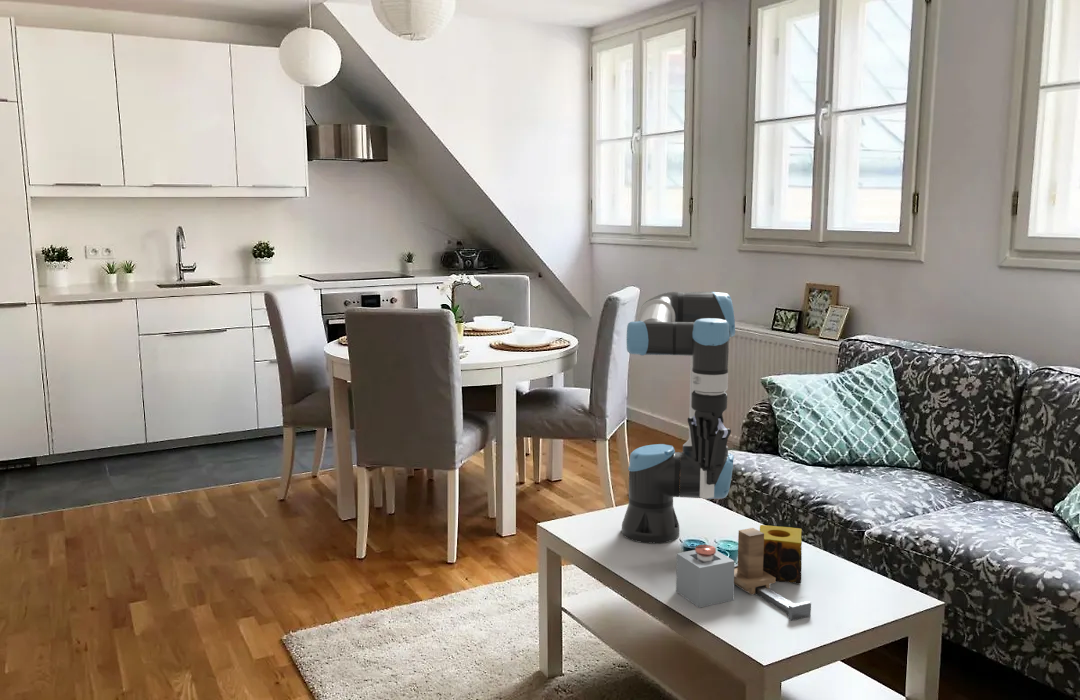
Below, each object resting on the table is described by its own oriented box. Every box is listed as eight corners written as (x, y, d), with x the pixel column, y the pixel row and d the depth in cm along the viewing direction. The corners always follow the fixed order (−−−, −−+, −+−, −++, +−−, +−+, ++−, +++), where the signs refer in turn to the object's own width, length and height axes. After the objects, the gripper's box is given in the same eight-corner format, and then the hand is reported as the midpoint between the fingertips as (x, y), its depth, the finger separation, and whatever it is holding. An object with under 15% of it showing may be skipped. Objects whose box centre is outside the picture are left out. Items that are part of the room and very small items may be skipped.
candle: (801, 585, 203) (802, 543, 201) (755, 580, 206) (757, 538, 204) (801, 568, 212) (803, 528, 211) (758, 563, 215) (759, 523, 214)
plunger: (691, 567, 197) (691, 546, 197) (707, 563, 199) (708, 543, 198) (702, 574, 193) (702, 553, 193) (719, 571, 195) (719, 550, 194)
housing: (676, 591, 200) (676, 553, 198) (709, 584, 203) (710, 546, 202) (698, 607, 191) (699, 568, 190) (733, 600, 195) (734, 561, 194)
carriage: (724, 582, 204) (725, 528, 202) (752, 576, 207) (754, 523, 205) (745, 595, 197) (747, 540, 195) (775, 589, 200) (777, 535, 198)
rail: (724, 578, 206) (725, 566, 206) (742, 575, 208) (742, 562, 208) (791, 620, 185) (792, 607, 185) (810, 616, 187) (811, 602, 187)
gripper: (677, 387, 194) (675, 490, 198) (712, 399, 183) (709, 509, 187) (706, 384, 197) (704, 486, 201) (742, 395, 186) (739, 503, 190)
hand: (706, 497), depth 194 cm, fingers closed
